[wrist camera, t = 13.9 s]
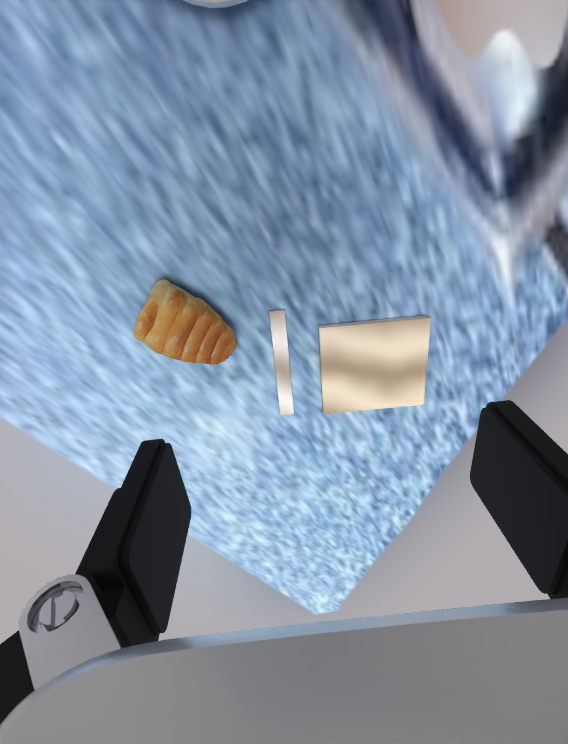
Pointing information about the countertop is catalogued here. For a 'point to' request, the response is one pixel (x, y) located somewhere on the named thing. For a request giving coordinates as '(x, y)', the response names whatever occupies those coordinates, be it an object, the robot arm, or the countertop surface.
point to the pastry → (183, 326)
